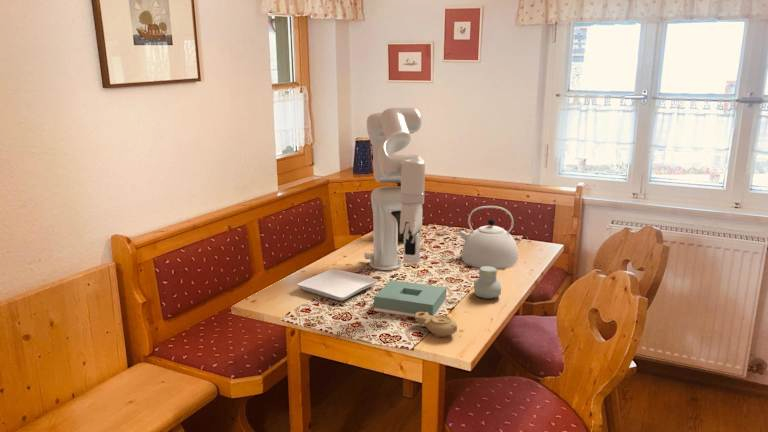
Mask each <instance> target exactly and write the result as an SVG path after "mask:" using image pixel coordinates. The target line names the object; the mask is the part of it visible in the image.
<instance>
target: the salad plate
mask: <svg viewBox="0 0 768 432" xmlns="http://www.w3.org/2000/svg"><path fill="white" fill-rule="evenodd" d="M377 282H378V279H377V278H374V277H373V278H372V277H369V276H365V275H362V274H358V273H354V272H351V271H346V270H342V269H338V268H331V269H328V270H326V271H324V272H321V273H318V274H316V275H313V276H312V277H309V278H307V279H304V280H302V281H299V282H297V283H296V286H297V287H298V288H299V289H302V290H304V291H306V292H308V293H309V292H310V293H311V294H316V295H318V296H321V297H325V298H329V299H331V300H332V299H333V300H336V301H340V302H341V301H345V300H347V299H349V298H351V297H352V296H355V295H357V294H358V293H360V292H362V291H364V290H367V289H369V288H371V287H372V286H374V285H375V284H376V283H377Z"/></svg>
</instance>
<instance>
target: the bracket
mask: <svg viewBox="0 0 768 432" xmlns="http://www.w3.org/2000/svg"><path fill="white" fill-rule="evenodd" d="M409 233H412V232H409ZM409 237H411V239H412V236H409ZM420 241H421V232H417V233H416V234H414V243H415V254H414V255H407V254H405V239H404V241H403V264H410V265H418V264H419V263H420V251H421V250H420V249H421V247H420V246H421V245H420V244H421V242H420Z"/></svg>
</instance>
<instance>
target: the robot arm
mask: <svg viewBox="0 0 768 432" xmlns="http://www.w3.org/2000/svg"><path fill="white" fill-rule="evenodd" d="M422 122H423V121H422V115H421V113H420V111H419V109H417V108H415V107H390V108H386V109H384V110H383V111H382V112H375V113H372V114H370V115H368V116H367V119H366V129H367V135H368V138H369V140H370V142H371V146H372V158H373V160H372V161H373V166H372V167H373V175H374V176H373V177H374V180H375V182H377V183H380V184H396V183H401V186H398V187H397V186H381V187H380V186H379V187H377V188H375V189H373V190H372V191H371V194H370V202H371V203H370V204H371V209H372V216H373V217H372V219H373V220H372V221H373V225H372V226H373V227H372V228H373V235H372V237H373V252H372V253H370V252H366V251H365V252H364V255H363V256H364V259H366V260H370V261H369V266H370V267H371V268H372V269H375V270H379V271H393V270H397V269H399V268H401V266H402V261H401V260H400V259H398V242H399V241H398V223H397V220H396V218H395V217H394V216H393V215H392V214H391V212H393V211H401V216H400V234H403V233H404V232H405V233H404V239H405V254H407V255H414V254H415V243H414V234H416V233H417V232H419V230H420V231H421V229H422V227H423V204H425V180H426V179H425V177H426V176H425V175H426V173H425V171H426V164H425V161H424V160H425V159H423V158H422V157H421V156H420V155H418V154H396V153H398V152H401V151H402V150H404V149H405V148H406V147H408V146H409V144H410V142H411V139H412V137H411V135H412V134H415V133H417V132H418V131H419V130H420V129H421V127H422V124H423V123H422ZM409 232H412V233H409ZM409 236H412V239H411V237H409Z"/></svg>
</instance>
